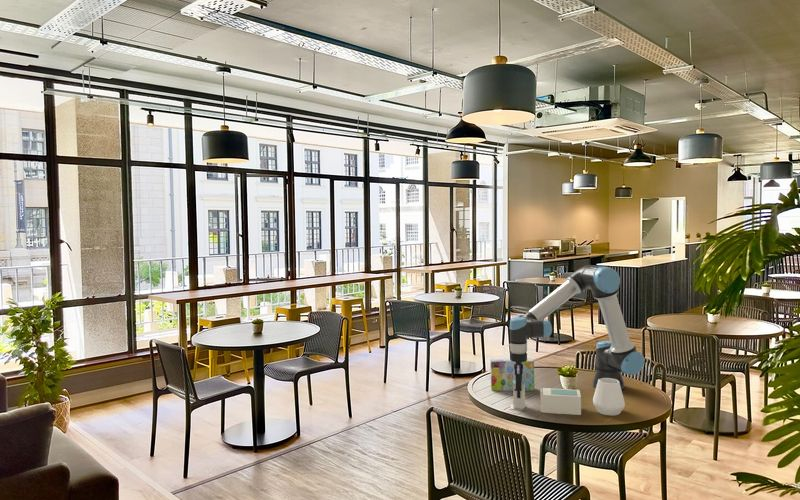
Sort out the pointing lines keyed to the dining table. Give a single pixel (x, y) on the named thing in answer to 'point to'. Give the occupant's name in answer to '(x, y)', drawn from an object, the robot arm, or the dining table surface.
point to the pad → (515, 408)
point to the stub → (522, 395)
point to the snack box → (510, 374)
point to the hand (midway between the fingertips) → (519, 402)
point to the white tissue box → (560, 401)
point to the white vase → (608, 397)
